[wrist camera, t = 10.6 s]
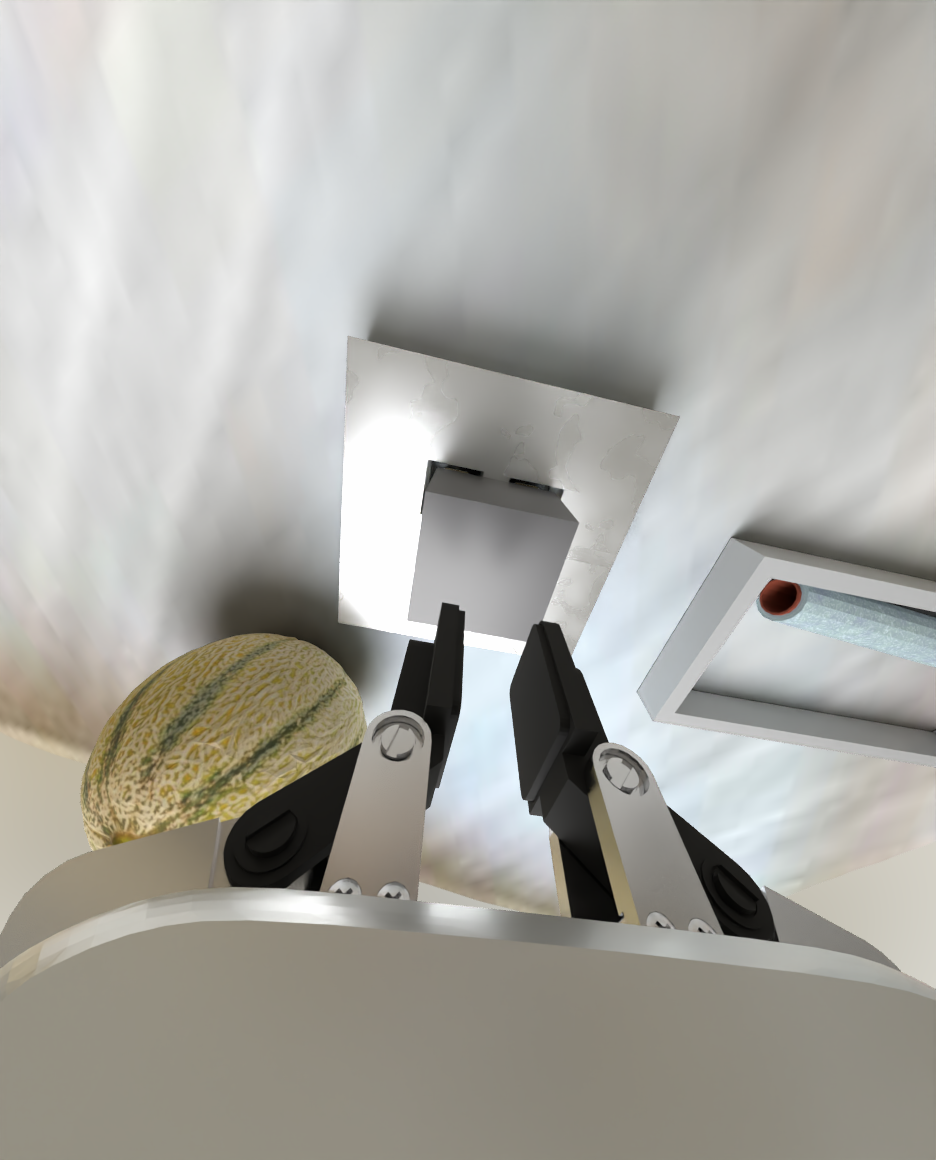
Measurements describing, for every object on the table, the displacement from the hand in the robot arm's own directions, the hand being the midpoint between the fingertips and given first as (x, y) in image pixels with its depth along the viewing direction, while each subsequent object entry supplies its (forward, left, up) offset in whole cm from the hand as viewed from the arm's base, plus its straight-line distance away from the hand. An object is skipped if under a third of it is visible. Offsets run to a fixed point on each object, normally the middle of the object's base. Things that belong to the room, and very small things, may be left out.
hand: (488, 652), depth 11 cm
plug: (0, 0, -13) cm, 13 cm away
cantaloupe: (+16, -12, -13) cm, 24 cm away
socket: (0, 0, -13) cm, 13 cm away
